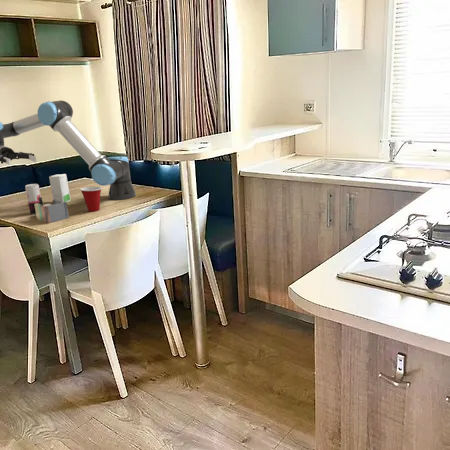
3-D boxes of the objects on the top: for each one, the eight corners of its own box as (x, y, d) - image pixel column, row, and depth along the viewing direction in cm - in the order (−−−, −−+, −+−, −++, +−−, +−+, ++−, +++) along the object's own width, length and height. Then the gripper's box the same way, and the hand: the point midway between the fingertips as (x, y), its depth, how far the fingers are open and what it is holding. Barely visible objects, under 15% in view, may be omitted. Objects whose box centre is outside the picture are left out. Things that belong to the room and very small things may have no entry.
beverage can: (45, 212, 248) (40, 184, 244) (33, 215, 244) (27, 187, 240) (40, 210, 253) (35, 183, 248) (28, 213, 249) (23, 185, 244)
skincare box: (63, 204, 263) (58, 176, 259) (52, 204, 265) (48, 177, 260) (71, 200, 271) (66, 173, 267) (60, 200, 273) (56, 173, 268)
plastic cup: (109, 209, 247) (106, 186, 243) (91, 214, 239) (87, 191, 236) (97, 206, 254) (94, 184, 250) (79, 211, 246) (75, 188, 243)
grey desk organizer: (37, 219, 236) (34, 203, 234) (57, 214, 244) (55, 199, 241) (47, 223, 228) (45, 207, 226) (69, 217, 235) (66, 202, 233)
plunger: (35, 215, 242) (31, 195, 238) (46, 212, 246) (43, 193, 242) (44, 218, 235) (40, 198, 232) (55, 215, 239) (52, 195, 236)
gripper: (27, 158, 271) (45, 165, 258) (-18, 162, 254) (-1, 170, 240) (26, 144, 269) (45, 151, 256) (-20, 148, 251) (-3, 155, 238)
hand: (22, 160), depth 248 cm, fingers open, 13 cm apart
